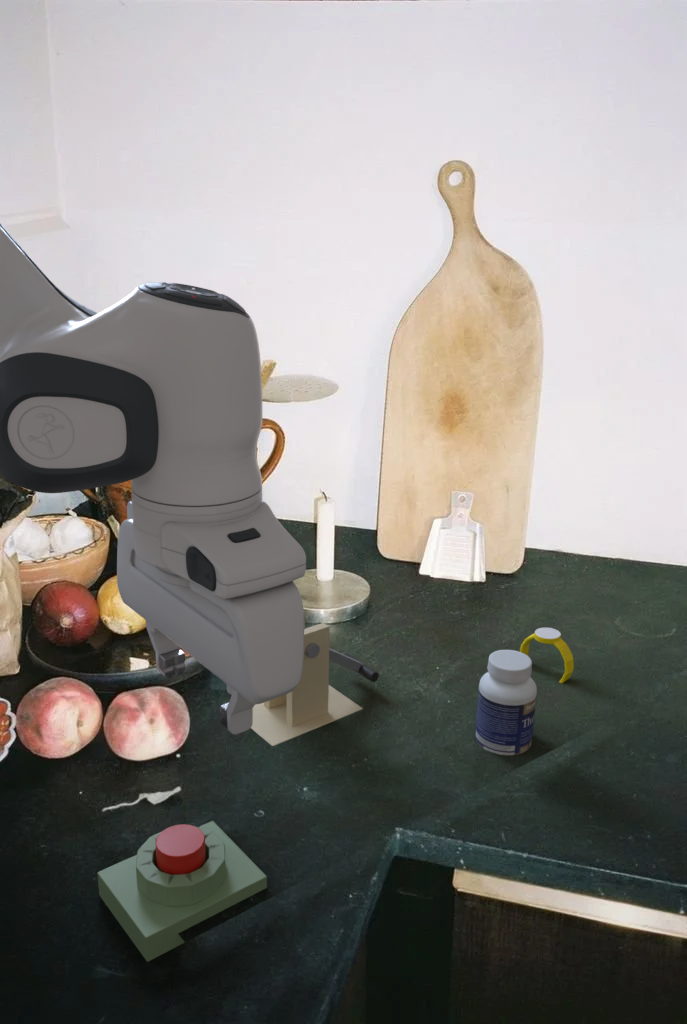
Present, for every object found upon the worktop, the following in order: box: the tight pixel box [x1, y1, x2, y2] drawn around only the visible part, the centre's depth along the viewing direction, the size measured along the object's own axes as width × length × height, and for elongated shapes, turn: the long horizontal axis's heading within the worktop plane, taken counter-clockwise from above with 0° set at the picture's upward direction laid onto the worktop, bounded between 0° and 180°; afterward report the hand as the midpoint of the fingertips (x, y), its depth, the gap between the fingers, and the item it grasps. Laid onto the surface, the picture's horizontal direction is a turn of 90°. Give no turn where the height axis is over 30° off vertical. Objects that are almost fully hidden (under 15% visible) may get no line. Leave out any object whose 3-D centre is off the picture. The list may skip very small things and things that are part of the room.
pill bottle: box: [474, 649, 538, 756], centre depth 88 cm, size 5×5×10 cm
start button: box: [156, 823, 206, 875], centre depth 69 cm, size 4×4×2 cm
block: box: [96, 820, 268, 963], centre depth 70 cm, size 10×8×4 cm
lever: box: [304, 627, 380, 683], centre depth 94 cm, size 12×5×2 cm
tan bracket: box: [250, 610, 364, 747], centre depth 92 cm, size 11×8×11 cm
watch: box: [519, 627, 575, 684], centre depth 101 cm, size 6×3×6 cm, turn 47°
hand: (202, 699), depth 69 cm, fingers open, 8 cm apart
